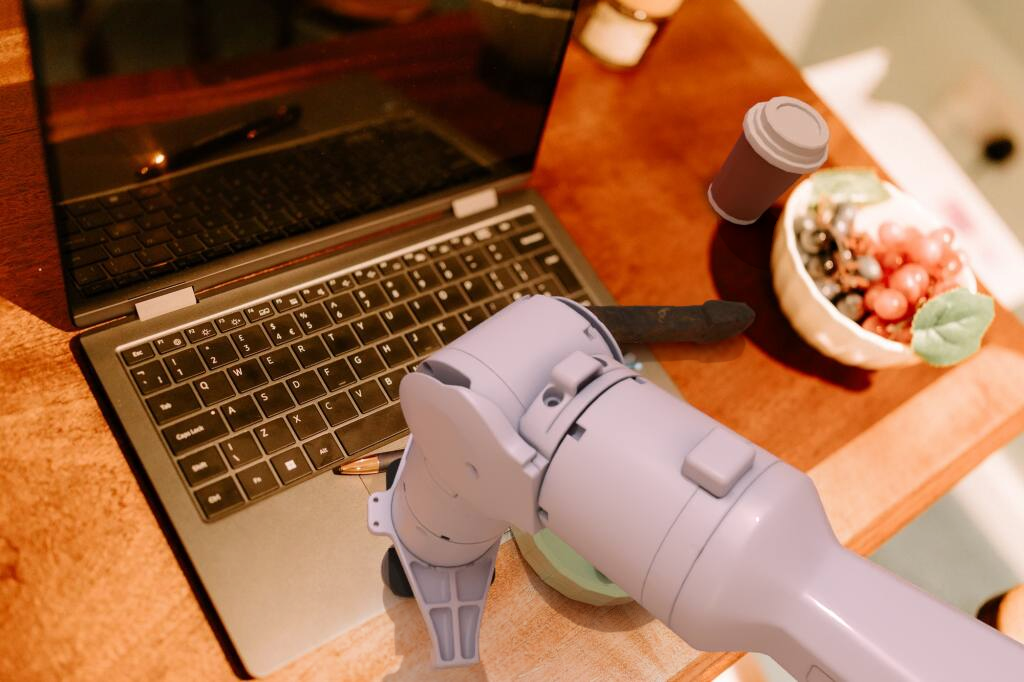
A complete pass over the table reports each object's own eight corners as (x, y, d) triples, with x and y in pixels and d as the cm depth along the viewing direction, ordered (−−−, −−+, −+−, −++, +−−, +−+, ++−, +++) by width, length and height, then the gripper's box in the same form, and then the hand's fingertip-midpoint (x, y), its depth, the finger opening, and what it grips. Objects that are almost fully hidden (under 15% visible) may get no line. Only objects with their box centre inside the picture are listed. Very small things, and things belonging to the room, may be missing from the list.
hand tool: (563, 356, 62) (581, 330, 58) (556, 317, 64) (573, 289, 60) (747, 358, 68) (775, 335, 64) (736, 322, 69) (762, 298, 66)
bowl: (694, 599, 54) (720, 589, 51) (517, 613, 50) (533, 604, 47) (655, 427, 61) (676, 409, 58) (497, 428, 57) (510, 408, 54)
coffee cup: (696, 220, 75) (757, 138, 65) (696, 161, 80) (754, 76, 70) (773, 244, 76) (845, 167, 66) (769, 184, 81) (835, 104, 71)
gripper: (373, 340, 34) (354, 442, 46) (380, 663, 27) (355, 689, 39) (511, 344, 36) (460, 441, 48) (550, 646, 29) (479, 676, 41)
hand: (421, 552), depth 43 cm, fingers closed on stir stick, 2 cm apart
